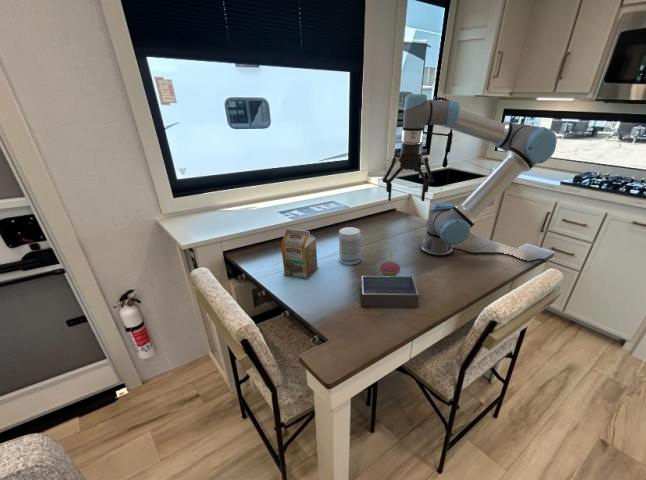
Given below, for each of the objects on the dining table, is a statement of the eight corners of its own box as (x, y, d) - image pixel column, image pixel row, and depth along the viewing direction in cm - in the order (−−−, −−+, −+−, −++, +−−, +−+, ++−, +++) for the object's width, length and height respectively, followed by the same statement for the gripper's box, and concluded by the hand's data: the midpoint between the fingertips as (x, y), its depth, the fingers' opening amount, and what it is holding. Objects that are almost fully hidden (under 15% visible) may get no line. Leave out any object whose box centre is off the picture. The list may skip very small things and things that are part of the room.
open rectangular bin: (411, 288, 128) (413, 276, 125) (417, 307, 117) (419, 294, 114) (361, 287, 128) (361, 275, 125) (361, 306, 117) (362, 294, 114)
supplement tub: (364, 262, 147) (365, 231, 139) (346, 267, 143) (346, 236, 135) (352, 254, 154) (352, 225, 146) (335, 259, 150) (334, 229, 142)
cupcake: (377, 273, 138) (379, 247, 132) (397, 272, 139) (399, 247, 132) (381, 283, 131) (382, 256, 125) (401, 282, 132) (404, 256, 125)
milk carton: (317, 268, 142) (315, 227, 132) (307, 279, 134) (303, 236, 123) (296, 264, 145) (292, 224, 135) (284, 275, 137) (279, 232, 126)
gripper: (378, 144, 117) (376, 202, 128) (447, 144, 116) (438, 203, 128) (377, 141, 123) (375, 197, 134) (442, 141, 123) (434, 197, 134)
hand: (405, 200), depth 131 cm, fingers open, 13 cm apart
